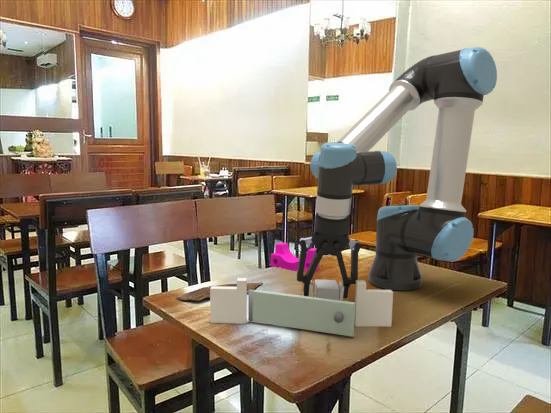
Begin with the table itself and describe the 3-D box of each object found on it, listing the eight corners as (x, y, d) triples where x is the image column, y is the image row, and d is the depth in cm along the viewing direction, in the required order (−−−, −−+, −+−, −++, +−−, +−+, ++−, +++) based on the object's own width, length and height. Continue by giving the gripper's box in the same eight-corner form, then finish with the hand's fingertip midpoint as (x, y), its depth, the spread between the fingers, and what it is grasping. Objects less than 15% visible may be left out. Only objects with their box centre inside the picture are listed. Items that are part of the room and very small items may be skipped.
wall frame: (389, 323, 95) (391, 281, 94) (391, 327, 93) (393, 283, 92) (211, 319, 96) (211, 277, 95) (210, 323, 94) (210, 280, 93)
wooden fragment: (183, 304, 103) (183, 300, 103) (171, 294, 113) (170, 291, 113) (273, 289, 116) (273, 285, 116) (255, 281, 126) (255, 278, 126)
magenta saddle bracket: (270, 267, 141) (270, 245, 140) (281, 263, 146) (281, 242, 145) (308, 275, 132) (308, 252, 131) (318, 271, 137) (319, 248, 136)
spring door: (353, 334, 88) (355, 302, 87) (352, 339, 86) (353, 306, 85) (249, 318, 96) (249, 289, 95) (245, 322, 93) (245, 292, 92)
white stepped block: (334, 311, 102) (335, 279, 101) (341, 332, 90) (342, 296, 89) (314, 311, 102) (314, 279, 101) (318, 331, 90) (319, 296, 89)
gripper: (372, 211, 95) (362, 303, 101) (288, 207, 95) (282, 299, 101) (380, 221, 88) (368, 319, 94) (288, 216, 88) (282, 315, 94)
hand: (324, 309), depth 97 cm, fingers open, 6 cm apart
